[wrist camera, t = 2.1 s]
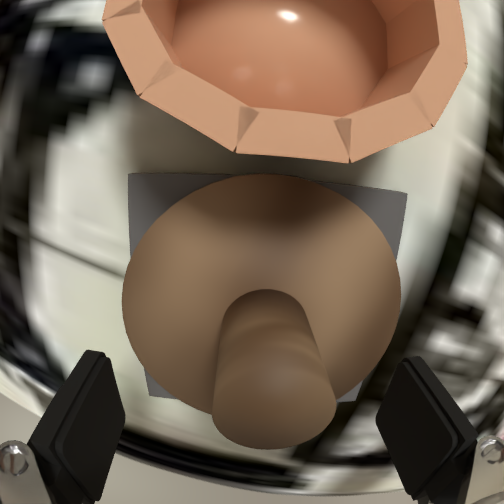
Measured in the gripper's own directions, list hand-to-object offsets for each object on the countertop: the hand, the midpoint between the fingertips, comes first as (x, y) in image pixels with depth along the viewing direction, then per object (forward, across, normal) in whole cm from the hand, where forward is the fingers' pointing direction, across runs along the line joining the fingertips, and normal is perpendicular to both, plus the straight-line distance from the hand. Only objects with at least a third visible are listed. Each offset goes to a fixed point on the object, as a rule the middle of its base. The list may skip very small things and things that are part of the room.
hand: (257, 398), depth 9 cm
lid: (+5, -1, 0) cm, 5 cm away
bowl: (+6, -1, -13) cm, 14 cm away
